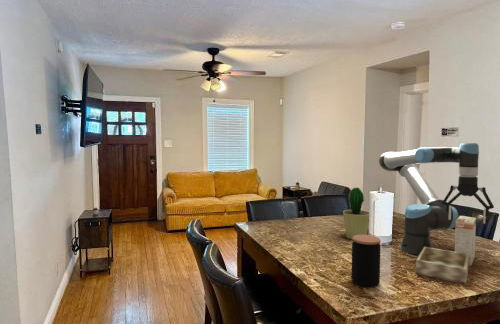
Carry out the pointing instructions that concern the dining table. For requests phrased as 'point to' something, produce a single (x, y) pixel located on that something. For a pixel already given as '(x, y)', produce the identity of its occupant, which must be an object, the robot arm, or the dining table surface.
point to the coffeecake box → (465, 236)
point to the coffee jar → (366, 260)
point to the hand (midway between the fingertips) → (466, 221)
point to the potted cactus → (356, 215)
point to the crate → (443, 264)
